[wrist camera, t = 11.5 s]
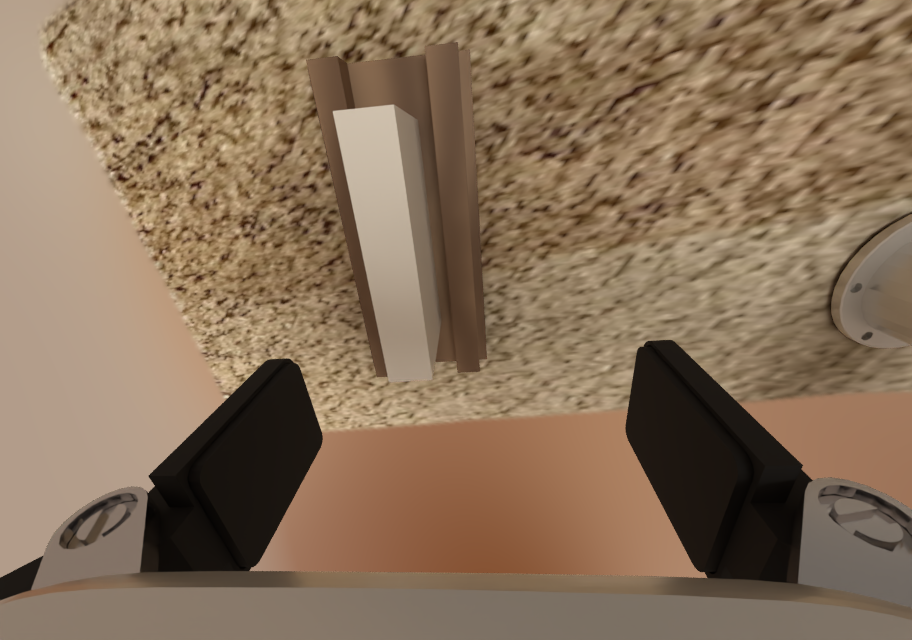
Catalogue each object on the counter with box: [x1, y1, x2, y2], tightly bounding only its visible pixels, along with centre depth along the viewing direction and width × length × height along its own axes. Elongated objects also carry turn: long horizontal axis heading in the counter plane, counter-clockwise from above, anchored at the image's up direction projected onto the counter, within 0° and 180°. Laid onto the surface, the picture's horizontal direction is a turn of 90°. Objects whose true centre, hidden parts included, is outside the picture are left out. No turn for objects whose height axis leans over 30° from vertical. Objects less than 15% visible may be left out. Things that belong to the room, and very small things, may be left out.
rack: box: [306, 42, 487, 377], centre depth 28 cm, size 11×24×3 cm, turn 5°
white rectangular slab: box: [333, 105, 441, 382], centre depth 24 cm, size 3×16×9 cm, turn 5°
